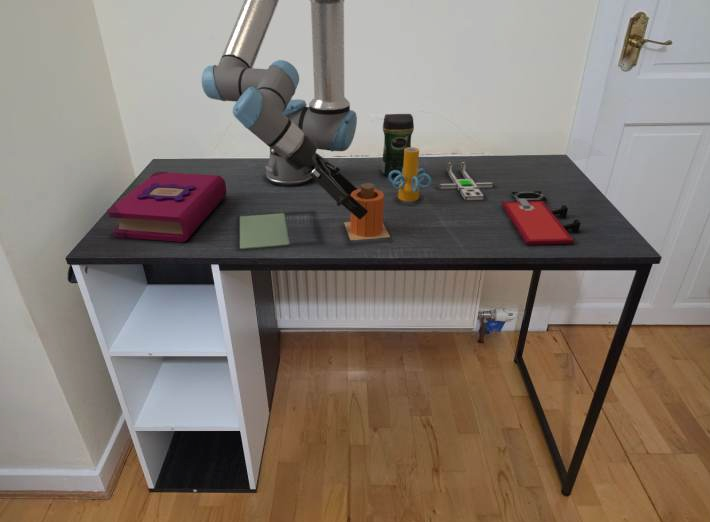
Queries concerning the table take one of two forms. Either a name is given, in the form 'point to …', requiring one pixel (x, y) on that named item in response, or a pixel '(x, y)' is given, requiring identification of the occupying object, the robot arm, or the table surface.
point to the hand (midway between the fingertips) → (358, 203)
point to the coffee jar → (396, 141)
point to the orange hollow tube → (368, 215)
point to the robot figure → (465, 184)
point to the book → (167, 206)
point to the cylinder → (409, 176)
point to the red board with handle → (539, 219)
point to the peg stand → (366, 193)
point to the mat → (263, 231)
